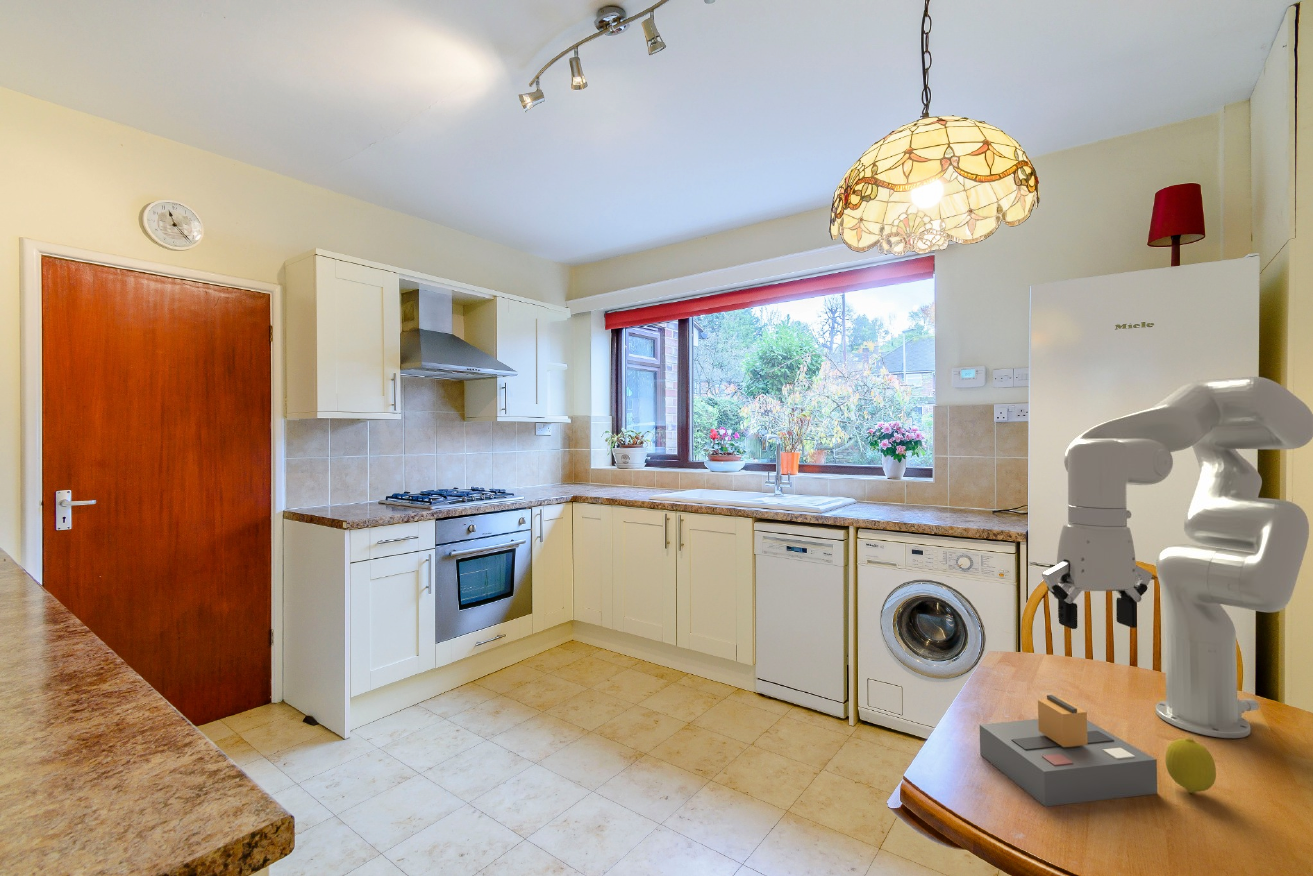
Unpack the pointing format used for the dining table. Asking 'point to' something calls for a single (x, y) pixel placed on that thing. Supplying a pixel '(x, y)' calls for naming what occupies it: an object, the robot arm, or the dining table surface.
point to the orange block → (1062, 721)
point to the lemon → (1190, 765)
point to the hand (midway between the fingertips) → (1097, 625)
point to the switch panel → (1068, 764)
